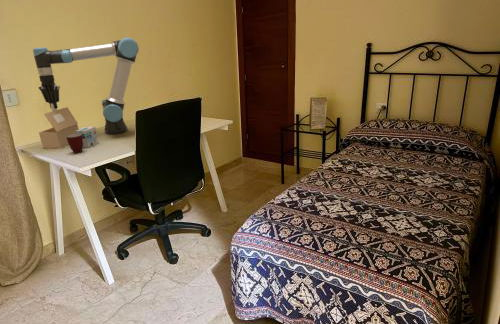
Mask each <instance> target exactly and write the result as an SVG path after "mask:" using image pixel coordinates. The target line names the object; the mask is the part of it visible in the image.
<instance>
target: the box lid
mask: <svg viewBox="0 0 500 324" xmlns="http://www.w3.org/2000/svg"><path fill="white" fill-rule="evenodd" d="M43 115H44V116H45V118H46V119H47V120H48V122H49V123H50V125H51V126H52V127H51V128H54V129H55V131H56V132H57V131H60V130H62V129H65V128H68V127H70V126H73V125H76V124H77V125H78V121H77V119H76V118H75V117H74V115H73V114H72V112H71V111H70V109H69V107H68V106H67V107H62V108H60V109H57V110H56V111H52V110H51V111H50V112H46V113H44V114H43Z"/></svg>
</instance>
